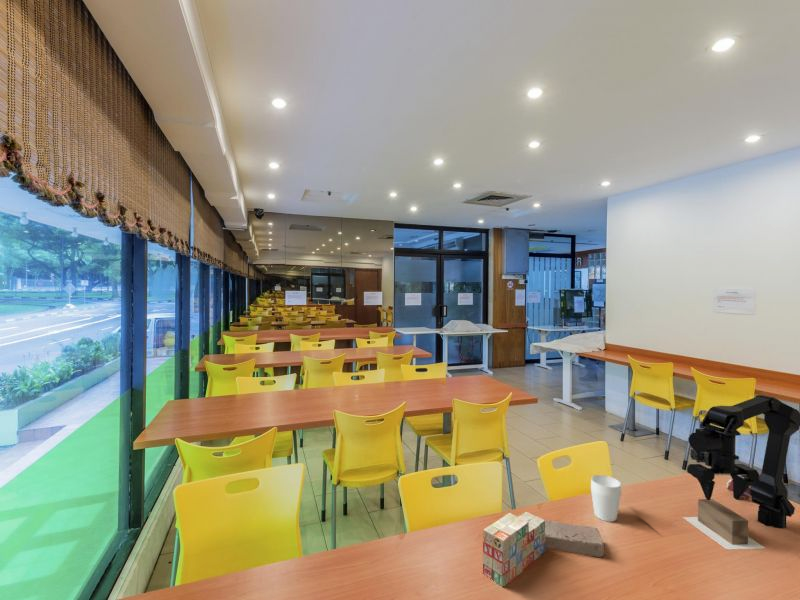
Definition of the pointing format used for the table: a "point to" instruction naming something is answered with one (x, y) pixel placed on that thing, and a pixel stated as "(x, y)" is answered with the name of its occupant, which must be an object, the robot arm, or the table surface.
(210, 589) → the table surface
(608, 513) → the cup
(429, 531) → the table surface
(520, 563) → the stack of blocks
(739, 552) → the table surface
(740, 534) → the block
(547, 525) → the brick
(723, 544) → the board
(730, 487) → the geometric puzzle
